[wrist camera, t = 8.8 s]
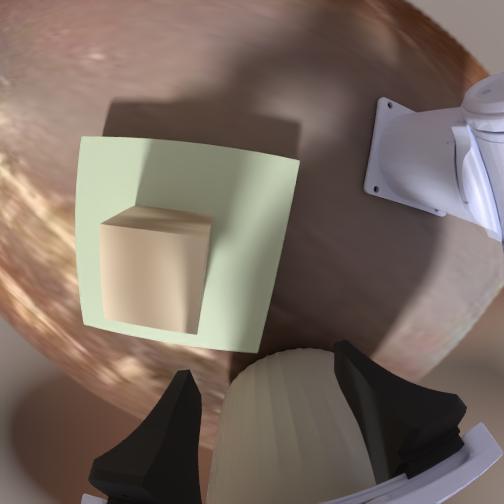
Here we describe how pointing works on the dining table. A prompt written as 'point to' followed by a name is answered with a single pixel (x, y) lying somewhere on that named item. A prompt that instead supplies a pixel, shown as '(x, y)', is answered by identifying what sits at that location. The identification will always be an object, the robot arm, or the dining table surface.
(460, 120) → the robot arm
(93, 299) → the green plinth
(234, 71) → the dining table surface
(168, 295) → the maple block
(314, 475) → the canister
